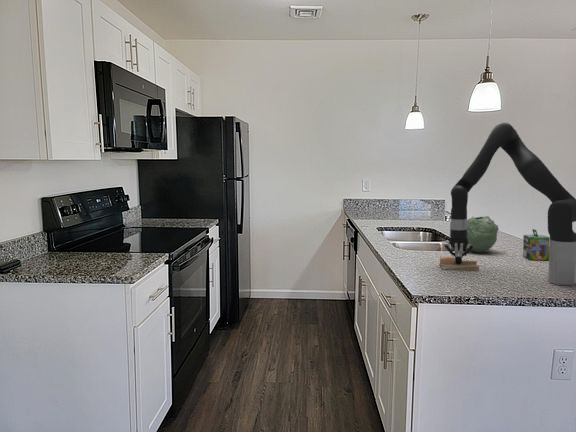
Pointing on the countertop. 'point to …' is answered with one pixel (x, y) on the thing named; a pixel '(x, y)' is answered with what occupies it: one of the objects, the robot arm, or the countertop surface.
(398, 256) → the countertop surface
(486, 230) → the cabbage
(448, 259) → the terracotta block
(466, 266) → the chute
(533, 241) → the chalk box
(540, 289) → the countertop surface
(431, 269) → the countertop surface
